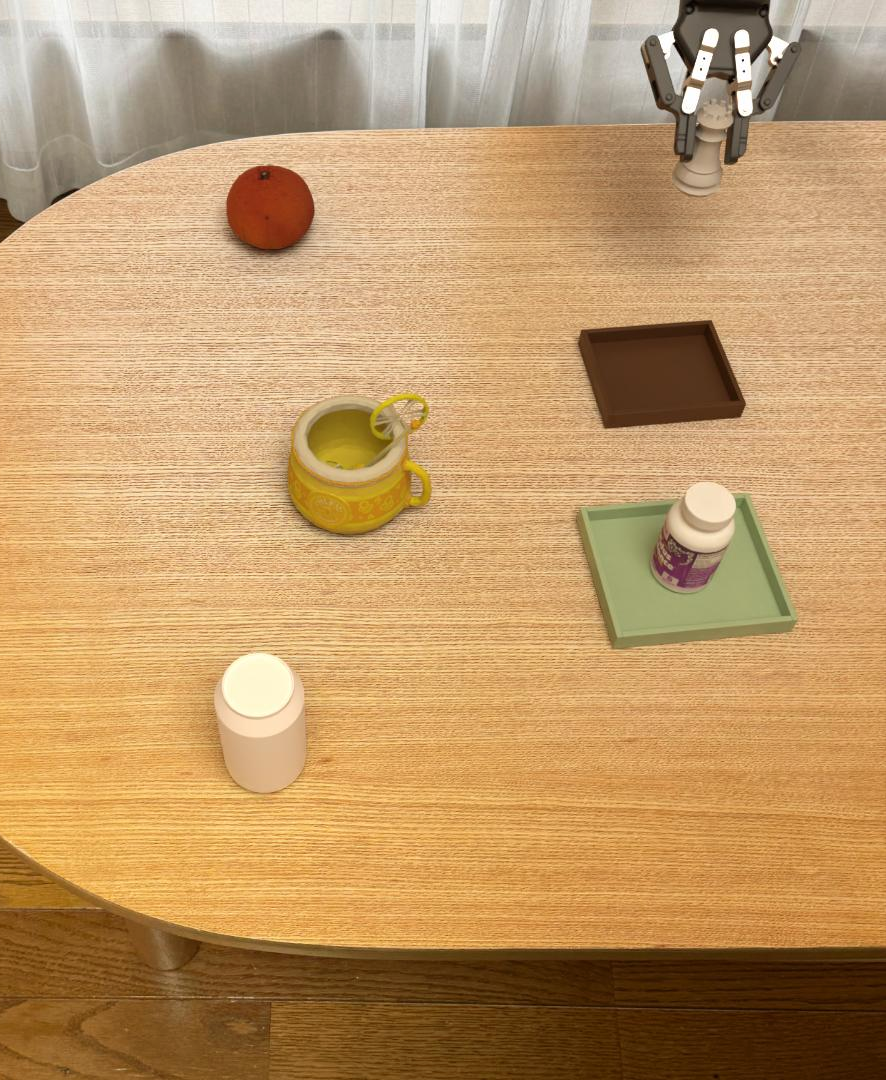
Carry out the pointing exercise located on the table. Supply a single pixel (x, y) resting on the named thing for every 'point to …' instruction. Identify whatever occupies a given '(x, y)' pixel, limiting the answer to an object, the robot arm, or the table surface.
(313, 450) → the mug
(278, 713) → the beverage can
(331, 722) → the table surface
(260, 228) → the fruit
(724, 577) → the green tray
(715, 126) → the rook chess piece
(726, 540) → the pill bottle
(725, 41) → the robot arm
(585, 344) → the walnut tray
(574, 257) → the table surface
